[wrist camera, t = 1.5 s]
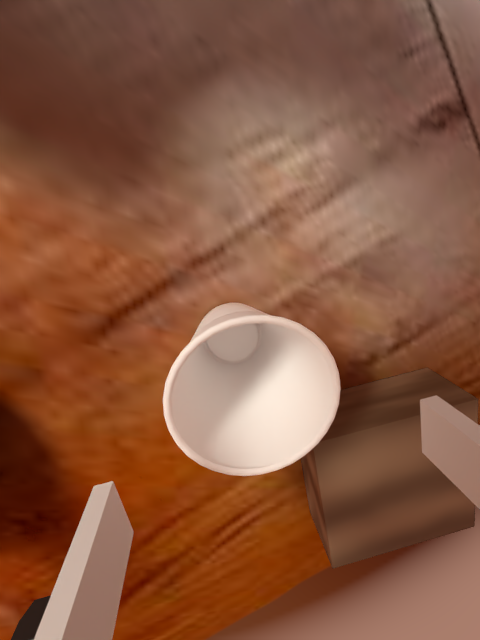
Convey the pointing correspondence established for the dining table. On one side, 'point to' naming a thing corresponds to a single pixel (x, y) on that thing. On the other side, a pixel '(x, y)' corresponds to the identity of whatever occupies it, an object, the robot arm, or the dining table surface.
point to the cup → (250, 392)
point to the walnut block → (384, 471)
